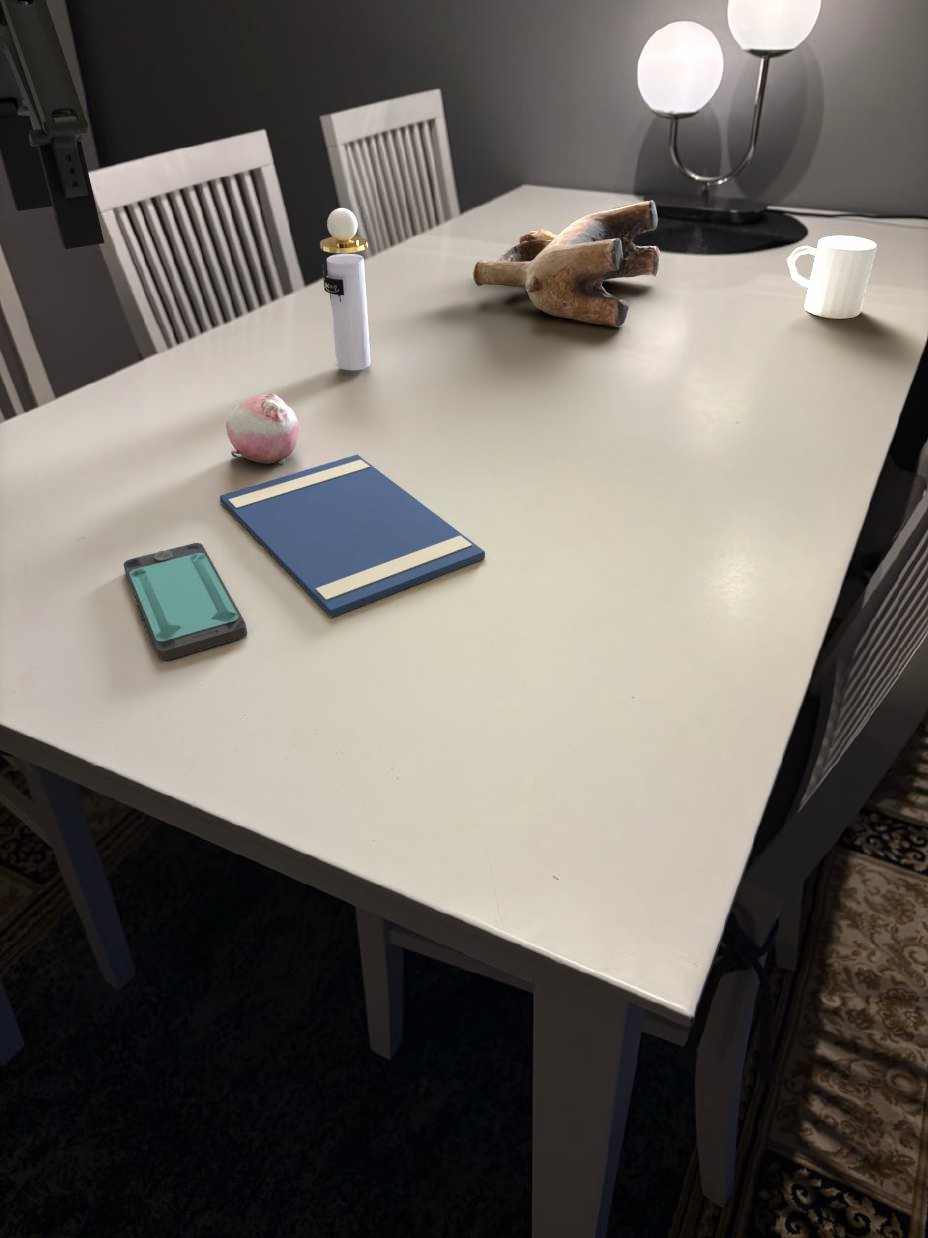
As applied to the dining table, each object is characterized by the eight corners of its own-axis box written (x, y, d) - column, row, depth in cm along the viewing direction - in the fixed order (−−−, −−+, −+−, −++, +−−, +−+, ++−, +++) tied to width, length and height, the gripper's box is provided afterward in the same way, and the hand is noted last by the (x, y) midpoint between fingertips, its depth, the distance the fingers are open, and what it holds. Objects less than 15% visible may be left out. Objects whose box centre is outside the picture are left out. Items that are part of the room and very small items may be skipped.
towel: (220, 502, 93) (218, 494, 92) (357, 460, 100) (357, 453, 99) (331, 618, 77) (330, 609, 76) (485, 558, 84) (485, 550, 83)
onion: (278, 479, 96) (269, 416, 92) (215, 467, 99) (204, 405, 94) (314, 447, 102) (307, 387, 98) (254, 437, 105) (245, 377, 100)
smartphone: (200, 539, 85) (247, 624, 74) (202, 550, 85) (249, 636, 75) (119, 559, 82) (155, 651, 71) (122, 571, 83) (158, 663, 72)
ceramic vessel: (665, 181, 144) (516, 190, 154) (619, 249, 123) (449, 255, 132) (666, 263, 152) (524, 267, 162) (623, 340, 131) (463, 340, 140)
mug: (778, 297, 144) (791, 232, 138) (858, 304, 141) (875, 237, 135) (777, 314, 138) (791, 246, 132) (861, 321, 135) (879, 252, 129)
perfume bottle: (358, 357, 124) (346, 200, 112) (384, 369, 121) (374, 208, 109) (323, 368, 121) (307, 207, 109) (348, 381, 118) (334, 216, 106)
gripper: (85, -152, 50) (163, 254, 62) (-16, -129, 66) (62, 188, 79) (-65, -158, 46) (50, 273, 59) (-132, -132, 63) (-31, 200, 75)
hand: (57, 225), depth 69 cm, fingers open, 13 cm apart
